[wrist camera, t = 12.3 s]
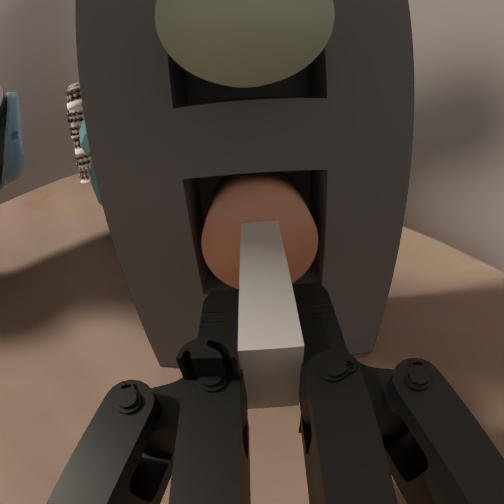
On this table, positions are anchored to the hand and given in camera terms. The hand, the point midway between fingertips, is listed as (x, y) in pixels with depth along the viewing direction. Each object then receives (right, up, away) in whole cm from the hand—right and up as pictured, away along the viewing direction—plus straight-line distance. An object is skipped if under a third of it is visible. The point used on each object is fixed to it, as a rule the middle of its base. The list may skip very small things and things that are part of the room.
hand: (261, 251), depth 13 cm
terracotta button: (0, -1, +3) cm, 3 cm away
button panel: (+1, -5, +8) cm, 10 cm away
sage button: (0, +6, -4) cm, 7 cm away
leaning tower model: (-39, +18, +53) cm, 69 cm away
